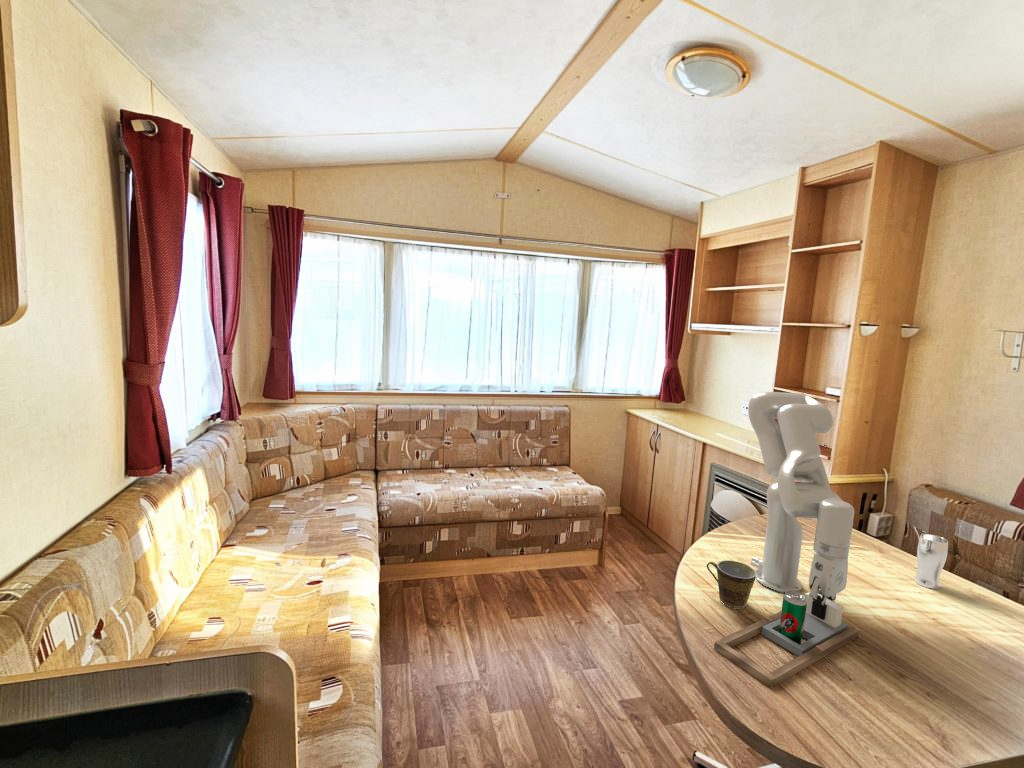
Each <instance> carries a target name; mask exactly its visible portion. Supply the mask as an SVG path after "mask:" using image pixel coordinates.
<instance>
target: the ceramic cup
mask: <svg viewBox="0 0 1024 768" xmlns="http://www.w3.org/2000/svg"><path fill="white" fill-rule="evenodd" d="M709 565H712V566H713V567H714V568H715V569H716V574H717V576H716V575H715V574H714V573H713V571H712V570H711V569H710V568H709ZM706 569H707V570H708V572H709V573H710V574H711V576H712V577H713V578H714V580H715V581H716V582H717V584H718V595H719V596H718V598H720V599H719V600H720V602H721V601H722V602H723V603H724V604H726V605H728V606H730V607H729V608H731V607H732V608H731V609H733V608H740V609H739V610H744V608H745V607H746V605H747V604H748V600H749V599H750V598H749V597H750V595H751V591H752V589H753V586H754V584H755V581H756V570H755V569H754V568H753V567H752V566H750V565H748V564H746V563H743V562H740V561H736V560H728V559H727V560H721V561H718V563H716V562H713V561H709V562H708V563H707V564H706ZM722 602H721V603H722ZM723 603H722V604H723ZM724 604H723V605H724ZM726 605H725V606H726ZM728 606H727V607H728Z"/></svg>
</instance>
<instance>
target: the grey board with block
mask: <svg viewBox="0 0 1024 768" xmlns="http://www.w3.org/2000/svg"><path fill="white" fill-rule="evenodd" d="M809 593H810V591H808V592H806V593H804V597H805V598H806V602H807V607H806V615H805V622H804V630H803V637H802V638H804V639H806V641H804V642H802V644H800V645H799V644H798V643H796V642H794V641H792V640H791V639H789V638H787V637H786V636H784V635H782V634H780V633H779V626H780V618H779V619H777V620H775V621H773V622H771V623H769V624H767V625H765V626H762V632H761V633H760V634H761V635H762V636H764V637H766V638H767V639H769V640H771V641H773V642H774V643H775V644H777V645H779V646H781V647H782V648H783V649H786V650H787V651H789V652H791V653H792V654H794V655H795V656H797V657H799V656H801V655H802V654H804V653H806V652H808V651H810V650H811V649H813V648H815V646H817V645H820V644H822V643H824V642H826V641H827V640H829V639H831V638H833V637H834V636H836V635H838V634H840V633H842V632H843V631H845V630H847V629H849V624H846V623H845V622H843V621H842V620H843V613H844V607H845V606H843V605H841V604H840V603H837V602H833V601H834V600H833V601H831V600H829V599H827V598H826V603H825V605H827V608H826V615H825V619H824V620H822V619H820V618H818V617H816V616H814V615H812V614H811V610H812V602H813V600H812V597H810V596H809ZM818 595H819V596H821V594H819V593H818ZM821 598H822V596H821Z"/></svg>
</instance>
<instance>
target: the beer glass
mask: <svg viewBox="0 0 1024 768" xmlns="http://www.w3.org/2000/svg"><path fill="white" fill-rule="evenodd" d="M948 552H949V541H948V539H946V538H944V537H941V536H939V535H936V534H930V533H921V534H920V536H919V540H918V545H917V551H916V555H917V556H916V557H917V559H916V560H917V572H916V574H915V576H914V579H913V580H914V581H913V582H915V583H916V584H918V585H919V586H921V585H922V587H923V586H924V588H926V587H927V588H926V589H930V588H931V589H932V590H939V589H940V588H941V587H940V585H941V584H940V576H941V573H942V570H943V568H944V566H945V564H946V561H947V557H948Z"/></svg>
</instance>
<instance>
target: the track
mask: <svg viewBox="0 0 1024 768" xmlns="http://www.w3.org/2000/svg"><path fill="white" fill-rule="evenodd" d="M779 618H781V611H778V612H776V613H774V614H772V615H769V616H766V617H764V618H763V619H761V620H758V621H756V622H754V623H752V624H750V625H747V626H745V627H744V628H741V629H739V630H737V631H735V632H733V633H731V634H728V635H726V636H724V637H721V638H720V639H717V640H716V641H714V644H713V645H714V646H713V649H714V650H715V651H717V652H719V653H720V654H722V656H724V657H726V658H727V659H728V660H730V661H731V662H733V663H734V664H735V665H736V666H738V667H740V668H741V669H743V670H744V671H746V672H747V673H749V674H750V675H752V677H754V678H756V679H757V680H759V681H760V682H762V683H763V684H764V685H766V686H767V687H769V688H773V687H775V686H777V685H779V684H781V683H782V682H784V681H786V680H788V679H789V678H791V677H792V676H794V675H795V674H797V673H799V672H801V671H802V670H804V669H806V668H807V667H809V666H812V665H813V664H814V663H816V662H818V661H819V660H822V659H823V658H824V657H826V656H829V655H830V654H831V653H833V652H835V651H836V650H838V649H840V648H842V647H843V646H845V645H846V644H848V643H850V642H851V641H853V640H855V639H857V638H858V637H859V633H860V630H859V629H858V628H856V627H854V626H850V627H848V629H847V630H845V631H843V632H842V633H840V634H838V635H836V636H834V637H833V638H831V639H829V640H827V641H826V642H824V643H822V644H820V645H817V646H815V648H813V649H811V650H810V651H808V652H806V653H804V654H802V655H801V656H797V657H795V658H794V659H792V660H790V661H788V662H787V663H785V664H783V665H781V666H779V667H778V668H776V669H773V670H772V671H771V672H769V671H767V670H766V669H764V668H762V667H761V666H759V665H758V664H756V663H755V662H754V661H752V660H750V659H749V658H747V657H745V656H744V655H743V654H741V653H740V652H738V651H737V650H735V649H734V648H732V647H734V646H737V645H738V644H740V643H741V644H742V643H743V642H745V641H747V640H748V639H751V638H753V637H755V636H757V635H759V634H761V632H762V626H765V625H767V624H769V623H771V622H773V621H775V620H777V619H779Z"/></svg>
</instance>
